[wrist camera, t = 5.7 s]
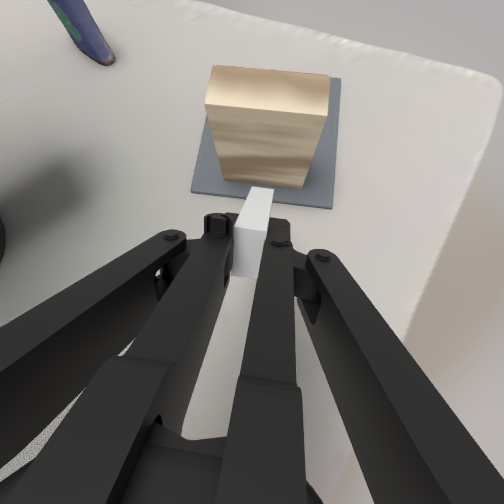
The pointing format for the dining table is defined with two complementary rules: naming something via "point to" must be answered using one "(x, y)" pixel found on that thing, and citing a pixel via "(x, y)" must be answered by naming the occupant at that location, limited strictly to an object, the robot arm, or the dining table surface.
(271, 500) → the robot arm
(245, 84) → the wooden block
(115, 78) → the dining table surface
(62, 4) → the flask
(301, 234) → the dining table surface
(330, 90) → the mat
